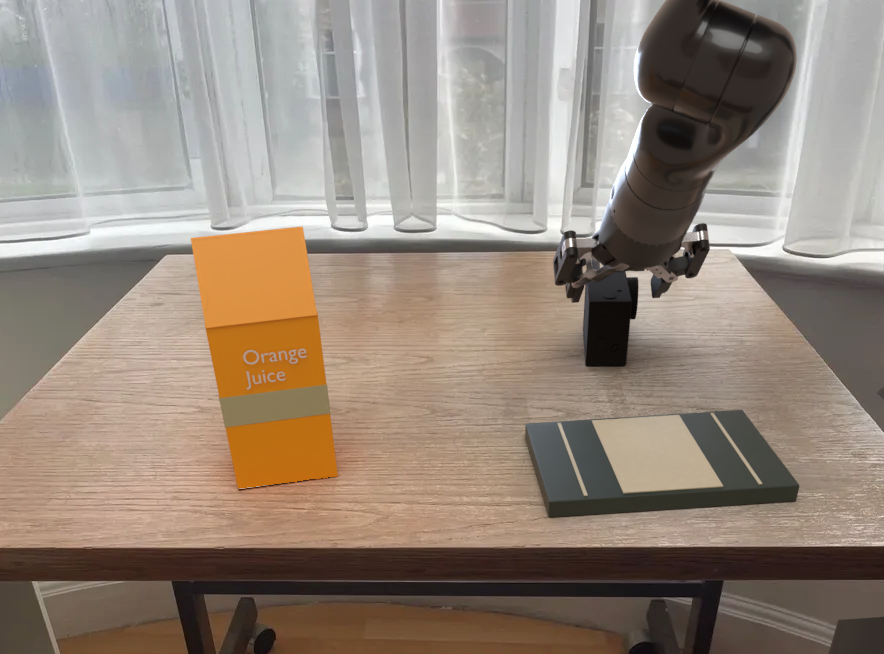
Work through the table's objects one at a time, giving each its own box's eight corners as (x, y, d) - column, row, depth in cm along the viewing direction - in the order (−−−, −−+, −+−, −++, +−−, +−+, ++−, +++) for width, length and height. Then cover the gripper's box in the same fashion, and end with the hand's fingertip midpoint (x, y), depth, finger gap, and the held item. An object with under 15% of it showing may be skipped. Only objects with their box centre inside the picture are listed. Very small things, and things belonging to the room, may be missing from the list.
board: (739, 424, 83) (742, 408, 82) (796, 501, 72) (800, 484, 71) (525, 437, 83) (525, 422, 82) (548, 517, 72) (549, 500, 71)
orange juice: (234, 450, 83) (189, 225, 71) (328, 438, 85) (300, 214, 73) (237, 491, 77) (188, 252, 65) (339, 477, 79) (309, 239, 66)
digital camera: (637, 366, 95) (644, 300, 90) (585, 367, 95) (589, 301, 91) (630, 330, 103) (636, 268, 99) (582, 331, 103) (586, 269, 99)
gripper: (576, 247, 78) (550, 329, 94) (739, 238, 78) (685, 322, 94) (568, 167, 79) (543, 262, 95) (729, 158, 79) (677, 255, 95)
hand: (614, 292), depth 94 cm, fingers open, 8 cm apart
